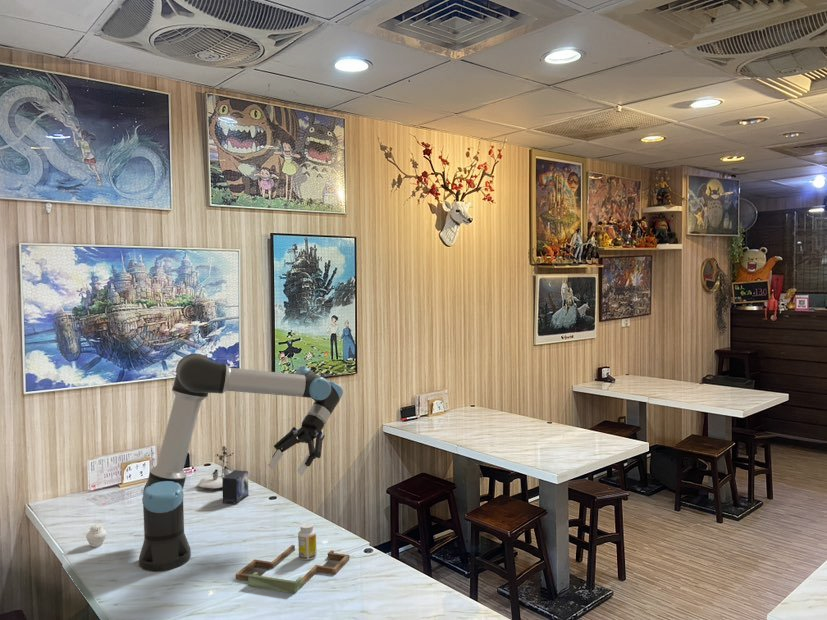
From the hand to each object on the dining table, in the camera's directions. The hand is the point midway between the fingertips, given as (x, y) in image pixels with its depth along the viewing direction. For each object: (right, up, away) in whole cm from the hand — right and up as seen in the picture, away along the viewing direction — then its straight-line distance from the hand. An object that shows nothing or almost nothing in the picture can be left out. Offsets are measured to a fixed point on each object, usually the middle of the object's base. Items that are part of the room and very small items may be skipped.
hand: (285, 470), depth 207 cm
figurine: (-40, -22, +59) cm, 74 cm away
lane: (+8, -24, -22) cm, 33 cm away
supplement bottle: (+10, -24, -14) cm, 29 cm away
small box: (-28, -22, +39) cm, 53 cm away
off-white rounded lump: (-63, -25, -3) cm, 67 cm away
